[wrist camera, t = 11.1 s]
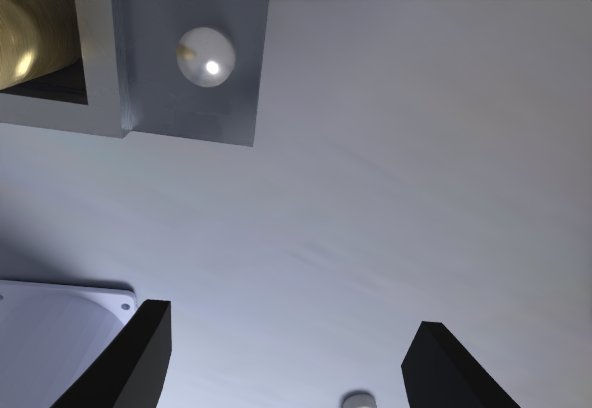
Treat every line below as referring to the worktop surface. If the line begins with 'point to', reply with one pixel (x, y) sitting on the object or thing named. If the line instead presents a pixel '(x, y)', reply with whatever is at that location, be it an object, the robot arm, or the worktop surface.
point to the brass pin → (36, 38)
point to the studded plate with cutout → (156, 72)
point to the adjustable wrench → (360, 402)
